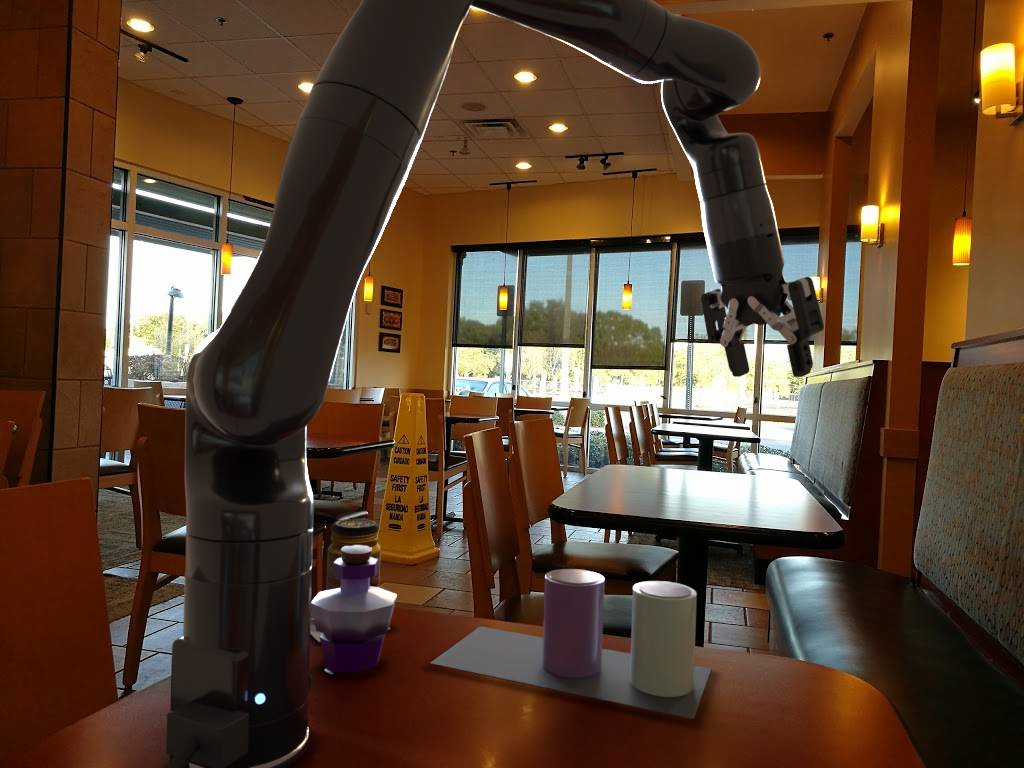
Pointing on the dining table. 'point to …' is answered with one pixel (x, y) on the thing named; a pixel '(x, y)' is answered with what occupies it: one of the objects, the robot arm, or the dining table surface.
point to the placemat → (523, 664)
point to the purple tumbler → (573, 623)
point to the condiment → (350, 535)
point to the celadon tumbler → (663, 638)
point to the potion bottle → (353, 614)
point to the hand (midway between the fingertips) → (771, 375)
